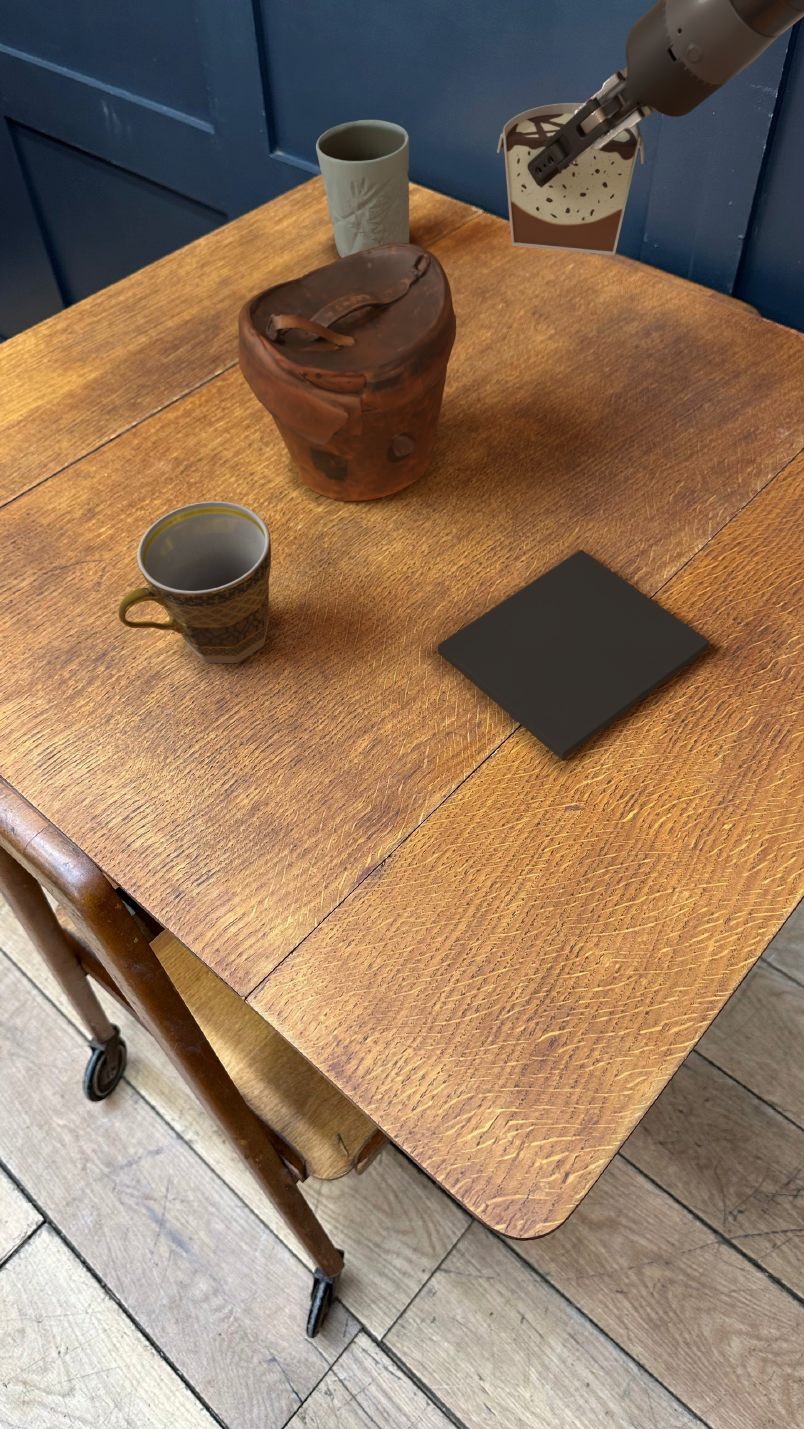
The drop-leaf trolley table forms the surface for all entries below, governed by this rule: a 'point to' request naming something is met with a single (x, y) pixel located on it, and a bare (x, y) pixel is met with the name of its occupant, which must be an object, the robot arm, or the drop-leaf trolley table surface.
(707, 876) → the drop-leaf trolley table surface
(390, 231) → the embossed grey tumbler
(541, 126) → the food container
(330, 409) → the case
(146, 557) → the ceramic cup
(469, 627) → the mat
